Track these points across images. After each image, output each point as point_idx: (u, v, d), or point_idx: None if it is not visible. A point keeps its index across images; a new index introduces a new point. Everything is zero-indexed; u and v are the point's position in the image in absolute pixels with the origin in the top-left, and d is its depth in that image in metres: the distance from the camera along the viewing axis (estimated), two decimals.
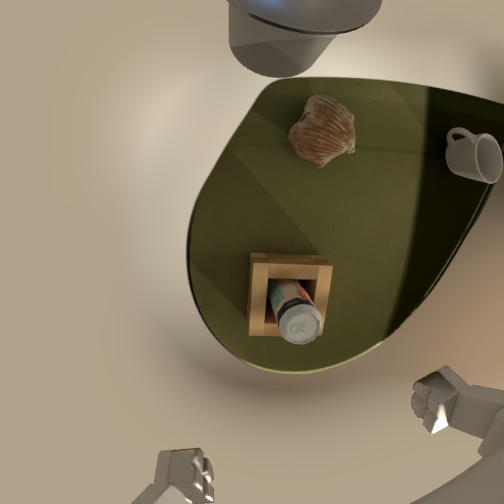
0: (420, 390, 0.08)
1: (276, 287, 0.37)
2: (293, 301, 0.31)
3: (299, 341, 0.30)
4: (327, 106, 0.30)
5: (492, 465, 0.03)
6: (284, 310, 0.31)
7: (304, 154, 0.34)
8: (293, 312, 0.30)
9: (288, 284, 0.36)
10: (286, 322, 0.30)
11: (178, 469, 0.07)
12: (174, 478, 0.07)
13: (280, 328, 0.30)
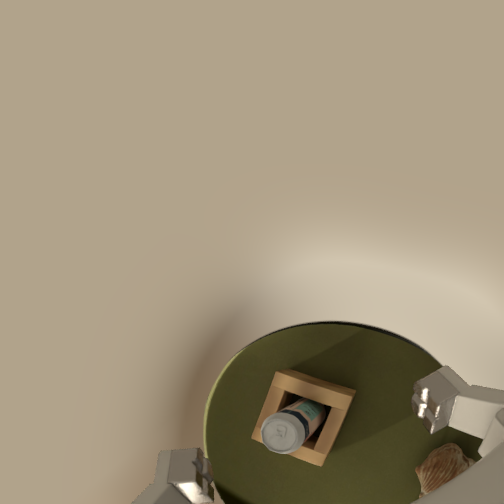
0: (420, 390, 0.08)
1: (317, 410, 0.31)
2: (307, 430, 0.26)
3: (265, 428, 0.25)
4: None
5: (492, 465, 0.03)
6: (302, 422, 0.25)
7: (433, 457, 0.23)
8: (299, 432, 0.24)
9: (318, 423, 0.29)
10: (292, 423, 0.24)
11: (178, 469, 0.07)
12: (174, 478, 0.07)
13: (285, 414, 0.26)
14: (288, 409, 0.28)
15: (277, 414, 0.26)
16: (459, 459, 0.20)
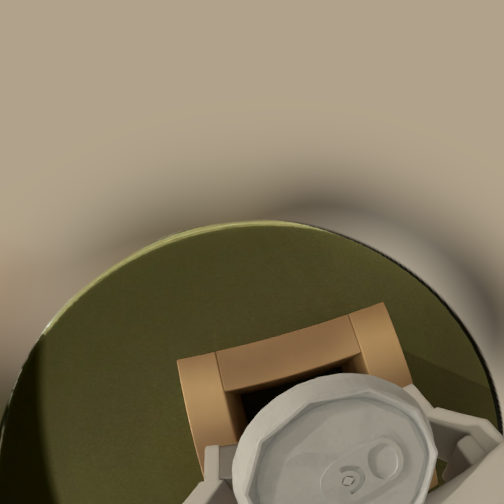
0: None
1: None
2: None
3: (334, 408, 0.05)
4: None
5: (492, 465, 0.03)
6: None
7: None
8: None
9: None
10: (432, 469, 0.04)
11: (229, 463, 0.07)
12: (226, 473, 0.07)
13: (424, 419, 0.05)
14: None
15: (408, 395, 0.05)
16: None
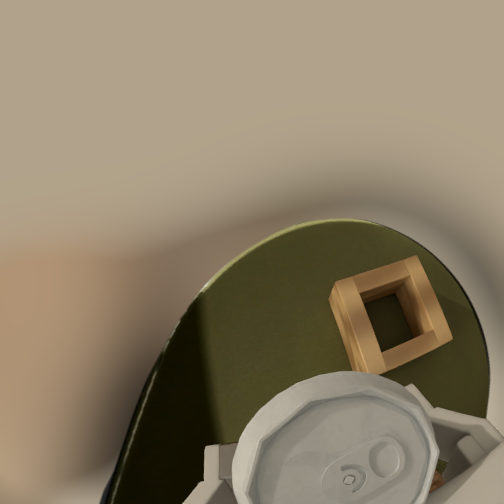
0: None
1: None
2: None
3: (334, 406, 0.05)
4: None
5: (492, 465, 0.03)
6: None
7: (434, 474, 0.17)
8: None
9: None
10: (434, 468, 0.04)
11: (229, 463, 0.07)
12: (226, 473, 0.07)
13: (425, 417, 0.05)
14: None
15: (409, 394, 0.05)
16: None
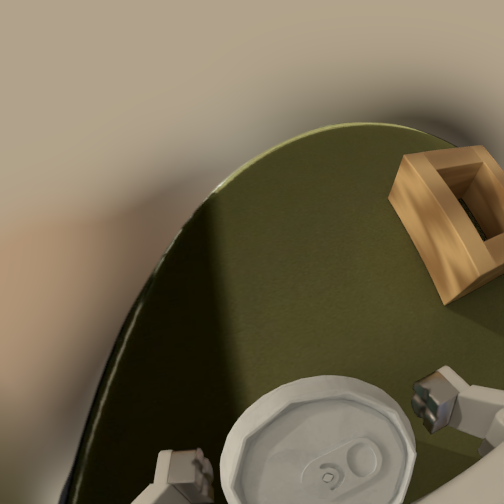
0: (420, 390, 0.08)
1: None
2: None
3: (314, 408, 0.05)
4: None
5: (492, 465, 0.03)
6: None
7: None
8: None
9: None
10: (411, 470, 0.04)
11: (178, 469, 0.07)
12: (174, 478, 0.07)
13: (405, 421, 0.05)
14: None
15: (388, 398, 0.06)
16: None
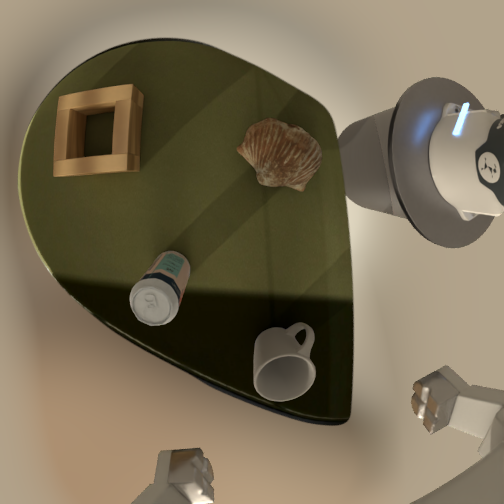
0: (420, 390, 0.08)
1: (179, 263, 0.32)
2: (177, 289, 0.27)
3: (134, 304, 0.25)
4: (309, 148, 0.29)
5: (492, 465, 0.03)
6: (167, 282, 0.26)
7: (250, 129, 0.30)
8: (169, 294, 0.25)
9: (185, 277, 0.32)
10: (157, 287, 0.25)
11: (178, 469, 0.07)
12: (174, 478, 0.07)
13: (147, 280, 0.25)
14: (148, 273, 0.27)
15: (139, 283, 0.25)
16: (284, 126, 0.30)
